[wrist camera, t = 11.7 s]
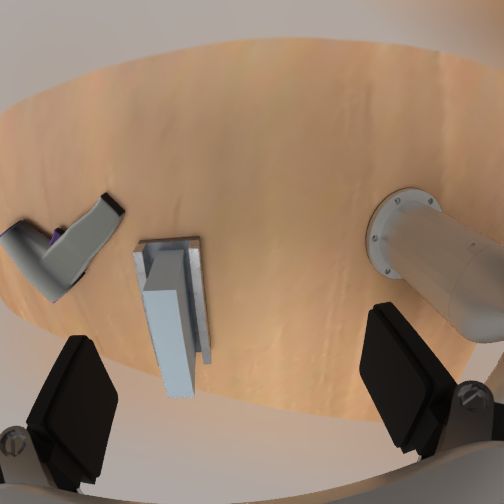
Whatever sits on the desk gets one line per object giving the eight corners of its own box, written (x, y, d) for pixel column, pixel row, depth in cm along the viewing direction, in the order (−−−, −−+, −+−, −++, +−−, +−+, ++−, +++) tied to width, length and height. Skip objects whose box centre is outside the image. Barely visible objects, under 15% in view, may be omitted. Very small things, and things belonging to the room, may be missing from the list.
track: (139, 240, 34) (132, 252, 31) (199, 236, 35) (198, 248, 32) (161, 348, 40) (158, 365, 37) (210, 346, 41) (211, 363, 38)
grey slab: (158, 250, 34) (142, 291, 26) (184, 249, 34) (176, 289, 26) (173, 347, 39) (168, 397, 31) (195, 346, 40) (194, 397, 31)
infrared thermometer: (134, 215, 34) (67, 295, 36) (66, 146, 30) (6, 235, 31) (126, 226, 30) (55, 312, 32) (50, 148, 26) (-11, 246, 27)
